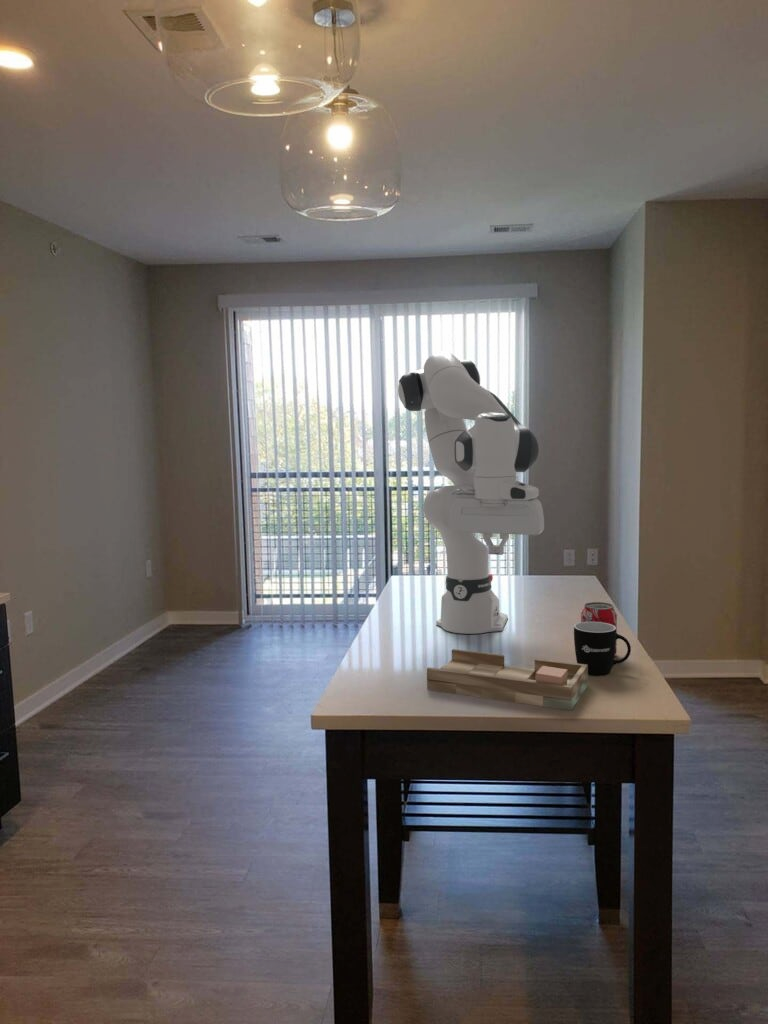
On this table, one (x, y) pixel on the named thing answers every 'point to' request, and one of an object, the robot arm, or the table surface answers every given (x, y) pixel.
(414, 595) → the table surface
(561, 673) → the block
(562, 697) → the trap box
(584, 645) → the mug
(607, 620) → the beverage can
